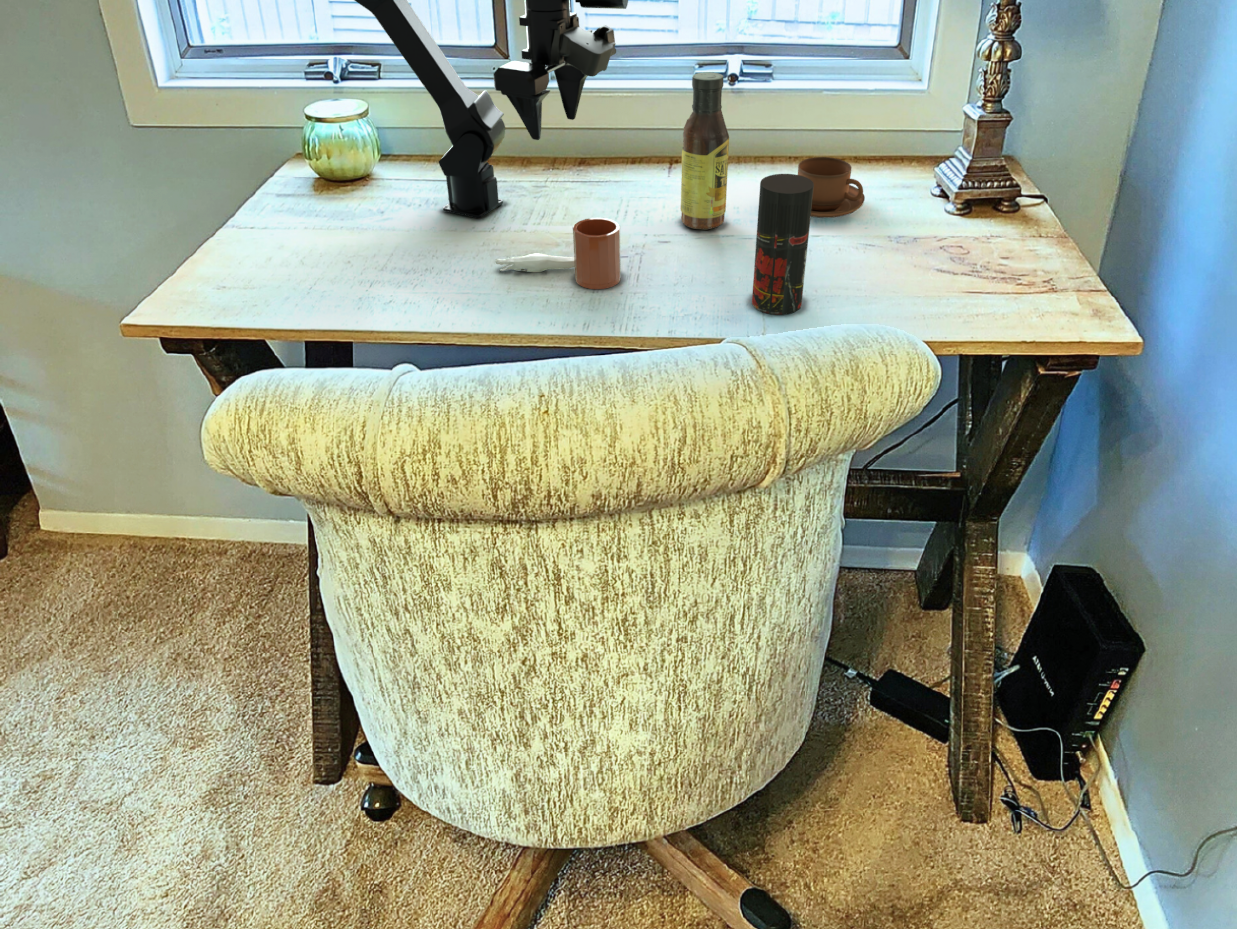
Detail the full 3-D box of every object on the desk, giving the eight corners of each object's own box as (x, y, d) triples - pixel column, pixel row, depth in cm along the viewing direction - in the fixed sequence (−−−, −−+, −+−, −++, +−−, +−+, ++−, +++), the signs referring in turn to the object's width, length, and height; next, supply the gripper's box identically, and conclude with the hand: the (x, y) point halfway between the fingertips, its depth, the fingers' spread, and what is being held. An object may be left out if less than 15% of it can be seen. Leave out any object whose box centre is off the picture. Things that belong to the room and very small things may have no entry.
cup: (567, 283, 128) (564, 231, 124) (589, 265, 132) (587, 214, 128) (606, 292, 126) (605, 240, 122) (628, 274, 130) (627, 222, 126)
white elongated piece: (495, 275, 131) (494, 261, 129) (496, 266, 133) (495, 252, 132) (612, 271, 131) (612, 258, 130) (611, 262, 133) (611, 249, 132)
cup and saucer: (868, 197, 149) (874, 155, 146) (856, 229, 140) (861, 186, 137) (787, 188, 152) (790, 147, 149) (770, 219, 143) (773, 176, 140)
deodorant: (747, 293, 126) (755, 174, 117) (795, 290, 126) (807, 172, 117) (757, 316, 121) (766, 194, 112) (806, 313, 121) (819, 192, 112)
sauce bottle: (722, 233, 140) (729, 84, 128) (677, 230, 141) (680, 82, 129) (727, 214, 145) (735, 70, 133) (684, 211, 146) (687, 68, 134)
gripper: (564, 30, 120) (570, 160, 130) (637, -3, 134) (638, 117, 143) (486, 20, 125) (497, 147, 134) (564, -11, 138) (569, 106, 147)
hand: (554, 128), depth 139 cm, fingers open, 9 cm apart
